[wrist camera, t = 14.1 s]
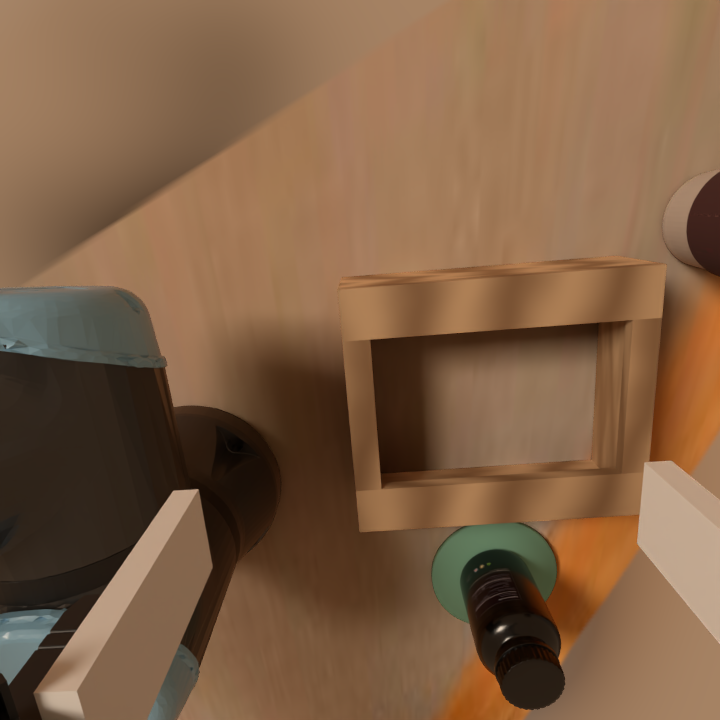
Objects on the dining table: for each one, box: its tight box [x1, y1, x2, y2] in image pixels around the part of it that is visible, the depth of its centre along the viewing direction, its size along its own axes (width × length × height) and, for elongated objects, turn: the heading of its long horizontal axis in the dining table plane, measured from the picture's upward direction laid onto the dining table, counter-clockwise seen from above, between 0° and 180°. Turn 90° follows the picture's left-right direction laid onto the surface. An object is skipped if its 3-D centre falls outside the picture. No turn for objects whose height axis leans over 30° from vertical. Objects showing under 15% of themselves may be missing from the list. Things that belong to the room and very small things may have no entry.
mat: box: [431, 522, 557, 623], centre depth 49 cm, size 12×12×1 cm
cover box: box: [337, 256, 667, 532], centre depth 41 cm, size 22×19×7 cm
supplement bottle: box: [460, 549, 565, 710], centre depth 43 cm, size 7×7×12 cm
